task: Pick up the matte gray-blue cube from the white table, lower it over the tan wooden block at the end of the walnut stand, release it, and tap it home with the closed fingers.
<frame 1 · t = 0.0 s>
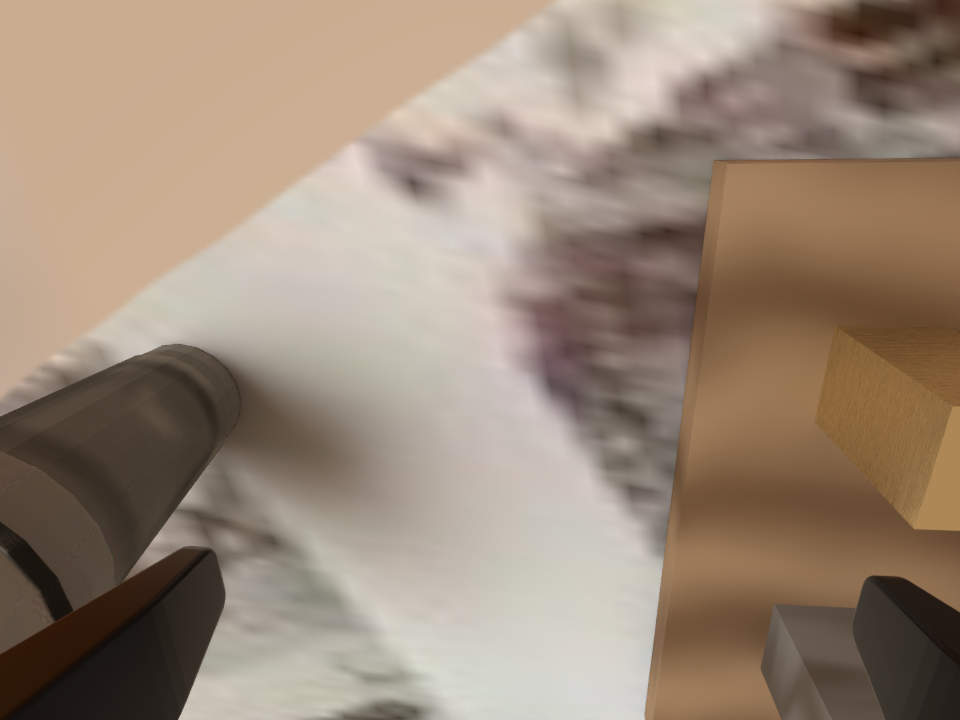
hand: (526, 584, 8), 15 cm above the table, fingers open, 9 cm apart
beverage cup: (190, 393, 25), on the table
tan wooden block: (857, 360, 22), resting on stand
stand: (824, 497, 24), on the table
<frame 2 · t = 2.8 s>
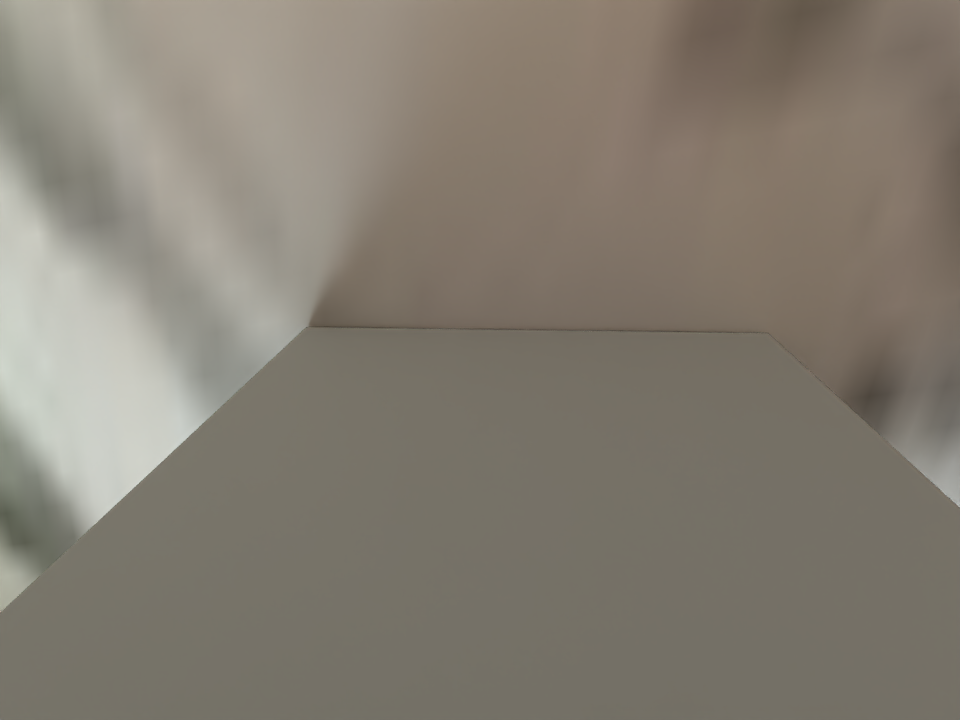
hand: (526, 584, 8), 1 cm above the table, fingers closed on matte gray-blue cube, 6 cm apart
matte gray-blue cube: (526, 519, 10), on the table, touching gripper
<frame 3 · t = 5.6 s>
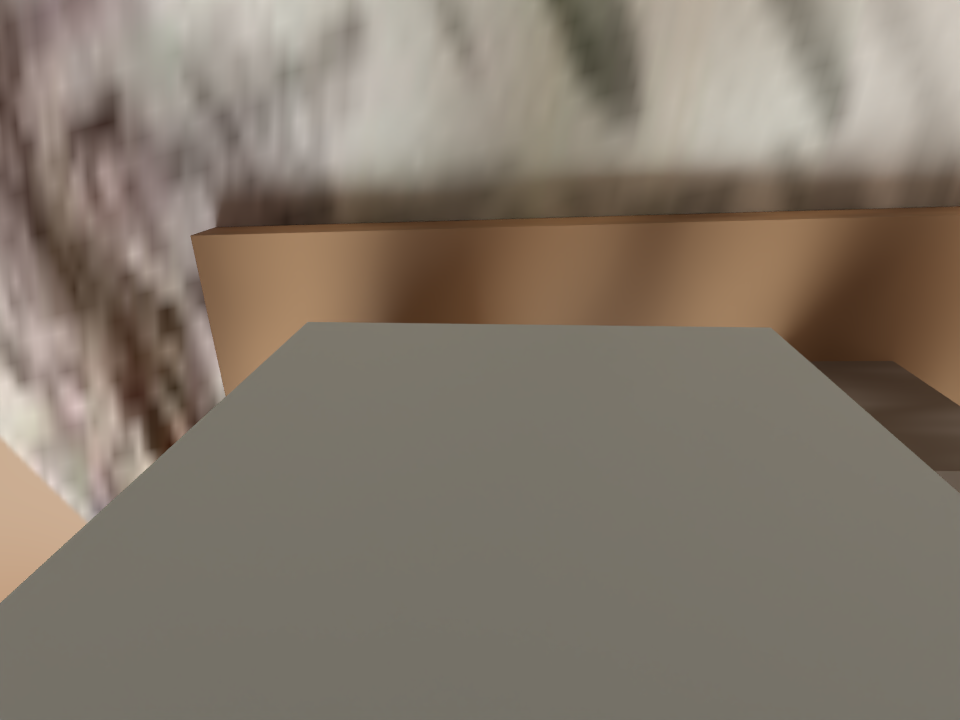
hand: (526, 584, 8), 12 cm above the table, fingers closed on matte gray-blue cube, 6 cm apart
matte gray-blue cube: (528, 515, 10), point 11 cm above the table, touching gripper
stand: (614, 394, 20), on the table
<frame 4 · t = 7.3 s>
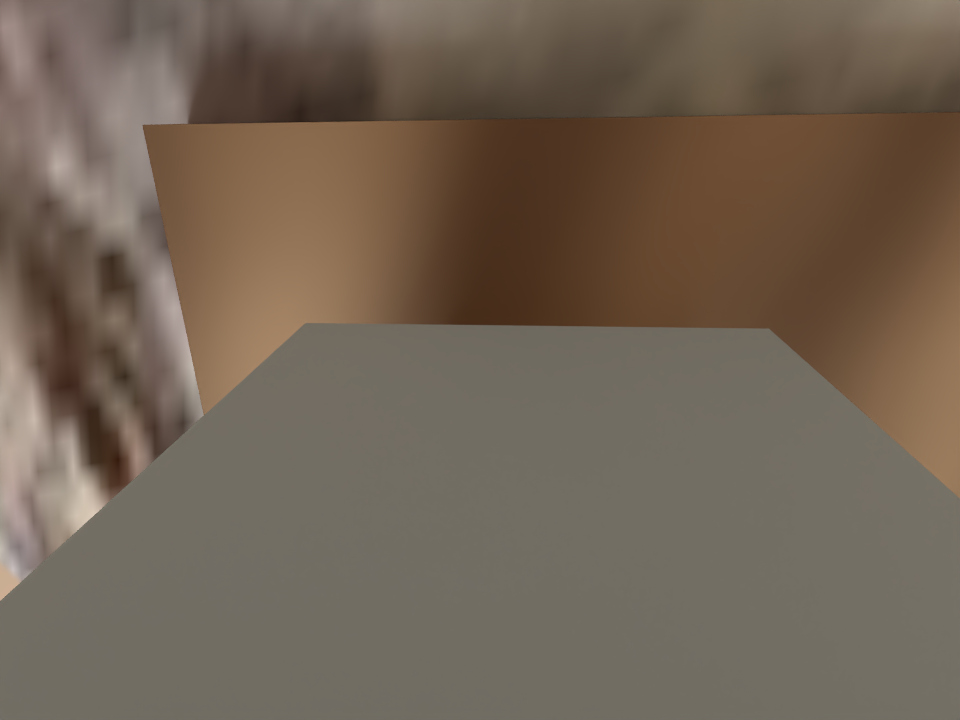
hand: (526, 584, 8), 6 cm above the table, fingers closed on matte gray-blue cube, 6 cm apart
matte gray-blue cube: (526, 516, 10), point 5 cm above the table, touching gripper
stand: (790, 400, 13), on the table
when the fingers open (3 cm above the table, at t = 8.5 s): matte gray-blue cube stays where it is, resting on stand.
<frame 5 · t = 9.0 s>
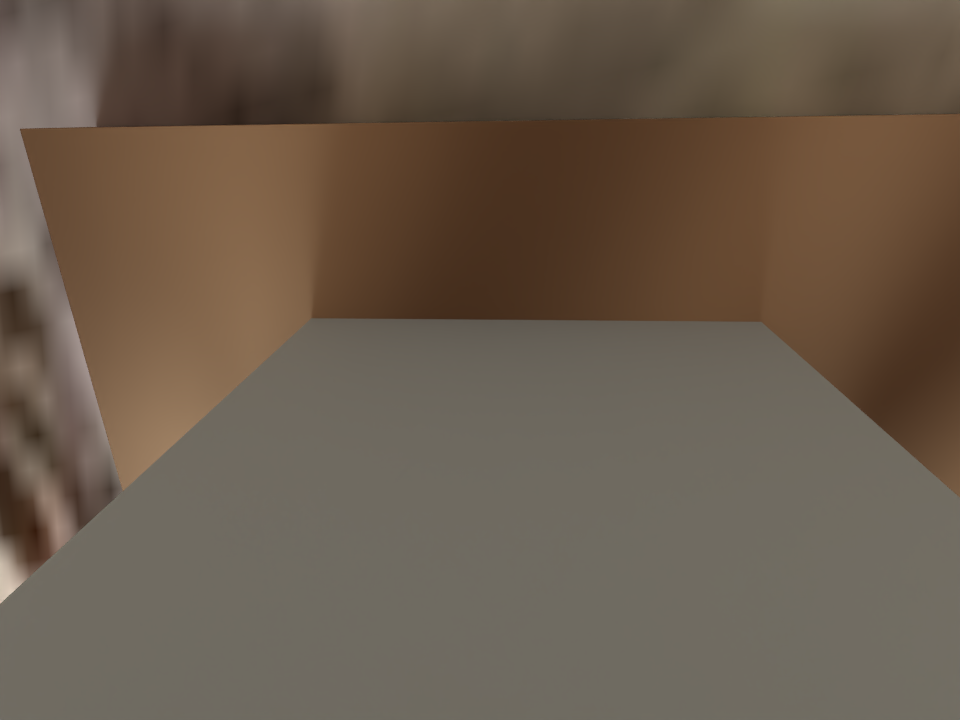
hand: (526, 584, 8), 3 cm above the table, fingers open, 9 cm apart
matte gray-blue cube: (527, 506, 10), point 1 cm above the table, touching stand
stand: (857, 471, 11), on the table
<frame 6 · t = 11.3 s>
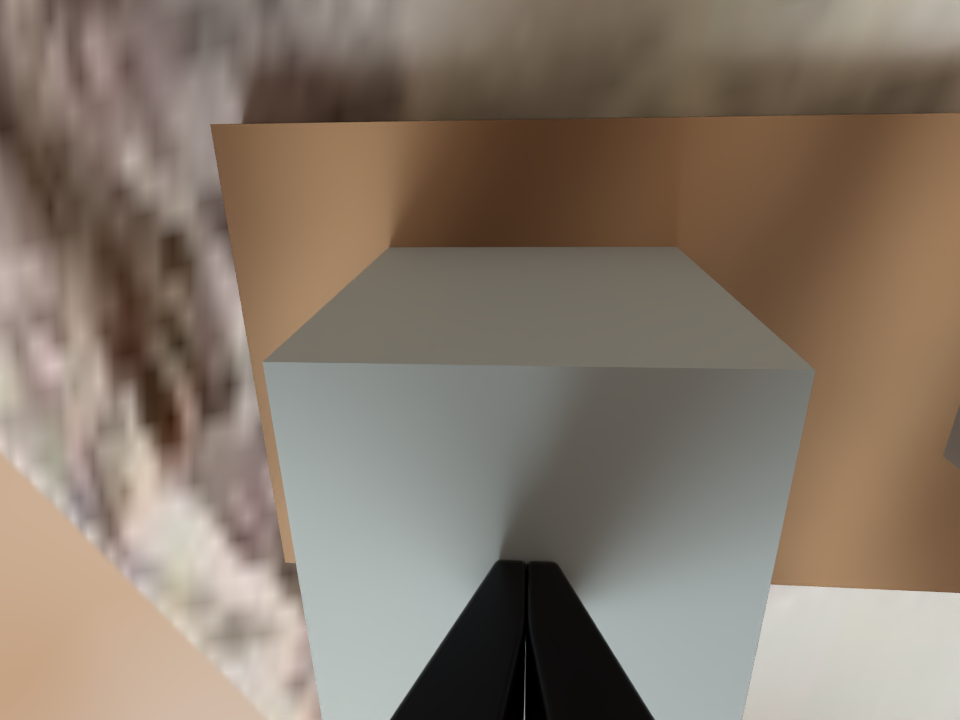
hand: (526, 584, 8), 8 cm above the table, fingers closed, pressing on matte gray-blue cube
matte gray-blue cube: (528, 378, 15), point 1 cm above the table, touching gripper, stand
stand: (756, 362, 16), on the table
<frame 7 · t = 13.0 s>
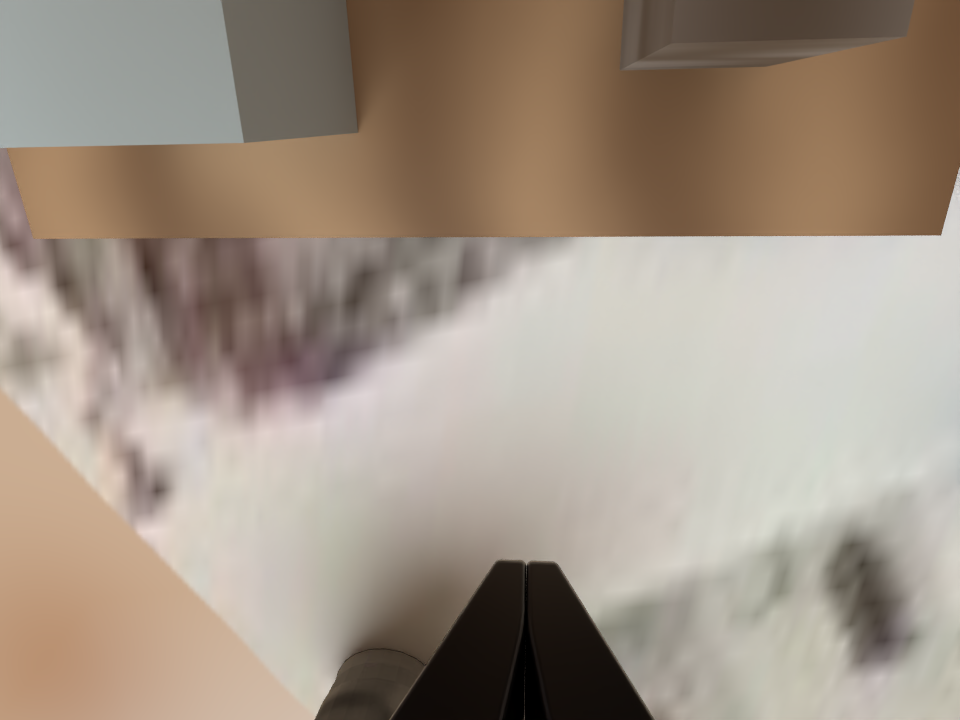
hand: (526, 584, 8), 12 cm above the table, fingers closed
beverage cup: (388, 682, 26), on the table
stand: (459, 4, 16), on the table
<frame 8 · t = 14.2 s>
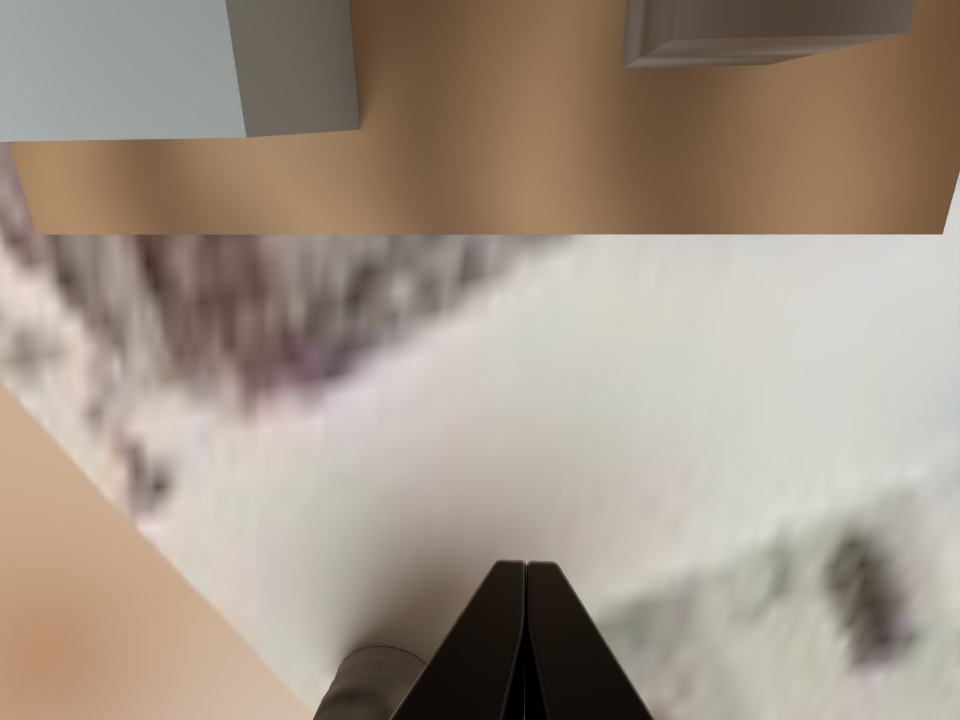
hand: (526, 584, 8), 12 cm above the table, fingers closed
beverage cup: (387, 680, 26), on the table
stand: (461, 2, 16), on the table
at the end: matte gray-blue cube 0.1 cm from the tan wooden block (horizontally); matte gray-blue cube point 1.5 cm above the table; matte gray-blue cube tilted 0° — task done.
